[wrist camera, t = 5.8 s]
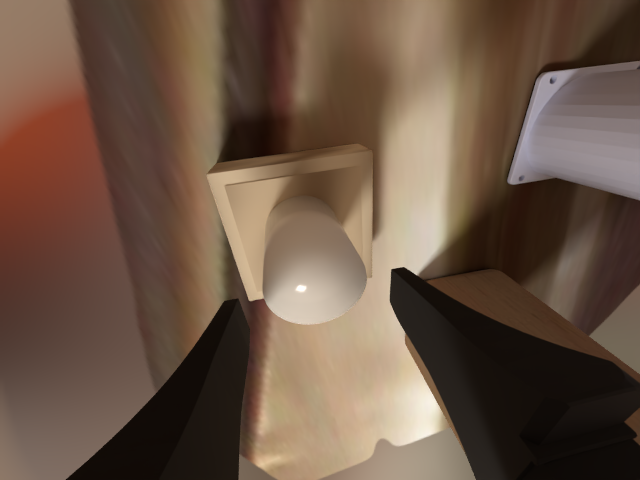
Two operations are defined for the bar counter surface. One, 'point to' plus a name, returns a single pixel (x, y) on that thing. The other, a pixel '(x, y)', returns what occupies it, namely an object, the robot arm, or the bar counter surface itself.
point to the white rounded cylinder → (309, 263)
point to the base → (285, 182)
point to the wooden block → (516, 322)
